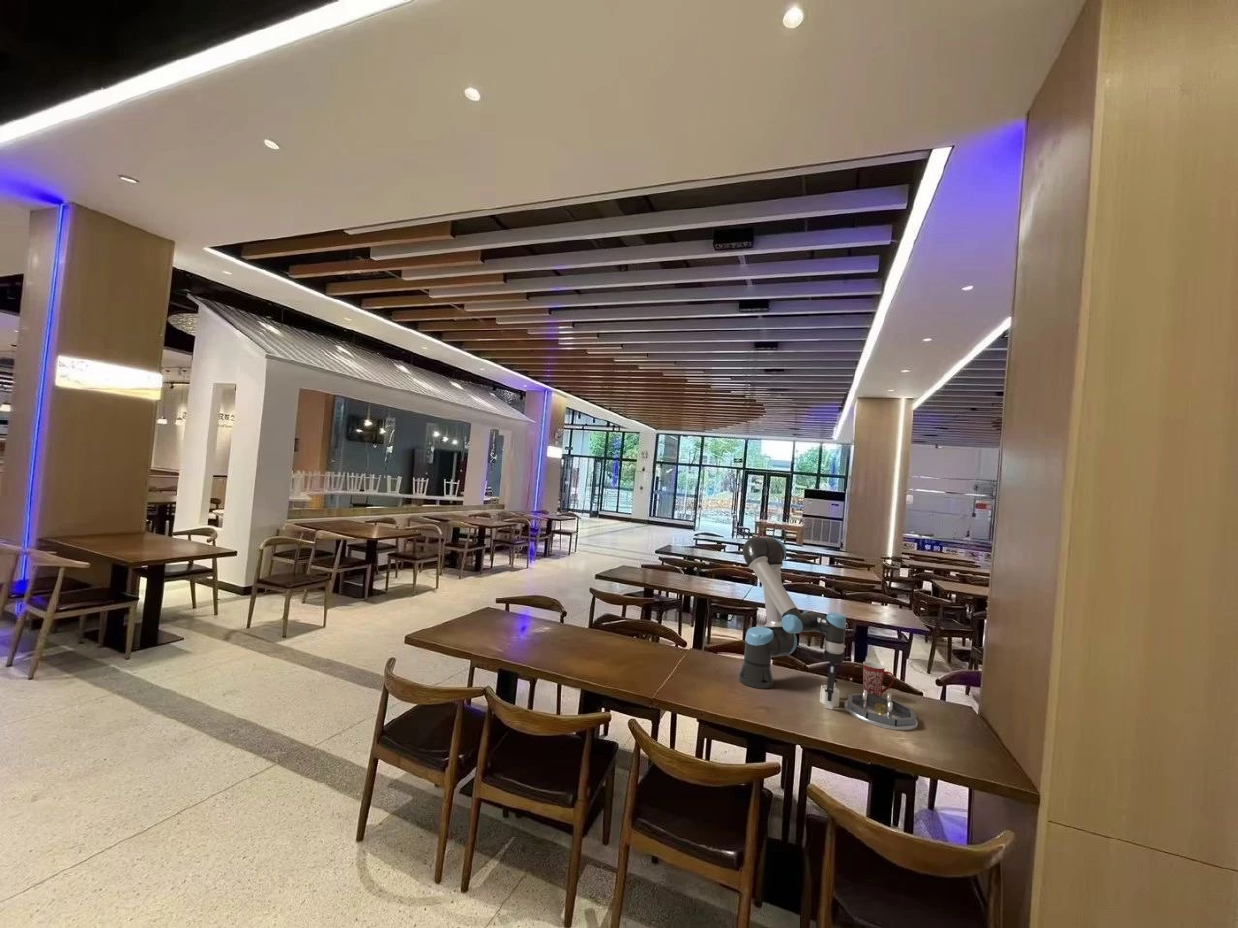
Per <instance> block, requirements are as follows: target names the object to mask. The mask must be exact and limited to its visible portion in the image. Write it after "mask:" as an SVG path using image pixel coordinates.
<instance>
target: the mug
mask: <svg viewBox="0 0 1238 928" xmlns="http://www.w3.org/2000/svg"><path fill="white" fill-rule="evenodd" d="M862 664H863V665H862V666H863V668H862V669H863V670H862V672H863V673H862V692H863V691H864V690H866V691H867V694H868V693H869V694H873V695H877V696H881V697H882V694H883V693H885V692H886V691H887V690H888V689H890V687H892V685H893V684H894V681H895V676H894V674H893V673H892V672H891V671H889V670H888V671H885V669H886V666H885V665H883V664H882V663H878V662H874V661H863V662H862ZM887 675H890V676H891V681H890V683H889V684H888V685H886V687H884V688H883V685H884V684H883V682H884V678H885V677H886V676H887Z"/></svg>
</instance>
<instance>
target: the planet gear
mask: <svg viewBox="0 0 1238 928" xmlns="http://www.w3.org/2000/svg"><path fill="white" fill-rule="evenodd" d="M825 690H827V684H826V685H825V684H823V685H821V686H820V693H819V702H820V703H821V704H823V706H825V703H826V692H825ZM830 690H832V689H830ZM833 691H834V695H833V708H836V707H837V708H838V707H839V706H840V695H841V689H840V688H837V687H836V686H835V687H834V690H833Z"/></svg>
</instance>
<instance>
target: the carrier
mask: <svg viewBox="0 0 1238 928" xmlns="http://www.w3.org/2000/svg"><path fill="white" fill-rule="evenodd" d="M847 696H848V697H847V699H846V700H845V702H844V709H845V711H846V712H847V713H848V714H850V715H851V716H853V717H854V718H856V719H858V720H859V721H862V722H864V723H867V724H869V725H872V726H875V727H879V728H883V729H886V730H893V731H899V732H900V731H901V732H902V731H903V732H907V731H908V732H909V731H913V730H915V729H917V728H918V725H919V723H918V719H917V718H916V713H915V709H913V708H911V707H909V706H907V705H905V704H903V703H901V702H899V701H897V700H896V699H892V693H890V692H887V694H886V697H885V696H882V695H881V696H877V695H873V694H869V693H868V694H867V691H866V690H864V691H863V690H862V692H861V693H849V694H848V695H847Z"/></svg>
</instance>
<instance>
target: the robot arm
mask: <svg viewBox="0 0 1238 928" xmlns="http://www.w3.org/2000/svg"><path fill="white" fill-rule="evenodd" d="M742 555H743V559H744V561H745V563H746V565H747V567H748V569H749V570H752V571H753V573H754V575H756V577H757V579H758V580H759V582H760V583H761V585H762V587H763V588H762V589H763V596H764V605H765V606H764V608H765V615H766V623H765V624H764V625H763V626H753V627H750V628H748V629H747V631H746V636H745V645H744V655H743V656H744V657H743V663H742V665H741V668H740V669H739V672H738V677H737V680H738V681H739V682H740V683H742V684H743V685H746V686H748V687H752V688H756V689H764V690H765V689H770V688H773V687H774V677H773V673H772V669H771V665H772V664H771V663H772V658H776V657H785V656H788V655H791V654H792V653H794V652H795V650H796V649H797V644H798V641H797V640H798V638H797V634H800V633H810V632H817V633H820V634H823V635H824V636H825V638H824V645H823V647H824V648H823V649H824V650H823V660H824V661H826V662H829V663H827V665H826V670H827V684H826V685H827V690H825V692H826V703H825V705H824V707H825V709H828V710H833V708H834V707H833V695H834V691H833V690H834V687H836V683H838V679H837V674H838V669H839V668H838V667H839V665H840V664H842V663H844V652H845V651H844V650H845V648H846V646H847V645H845V638H846V637H845V636H846V628H847V618H846V615H844V614H842V613H836V612H828V613H827V614H826V615H824V614H821V613H818V612H815V611H813V610H811V611H810V610H803V612H800V610H799V609H798V607H797V606H796V603H794V601H793V599H792V598H791V596H790V595H789V593H788V592H787V590H786V588H785V587H784V585H783V584H782V575H781V568H782V567H784V564H783V563H784V560H785V559H786V557H787V548H786V546H785V544H784V542H782V541H781V540H780V539H779V538H774V537H760V536H759V537H758V536H755V537H751V538H749V539H747V540H746V541H745V543H744V545H743V547H742ZM837 664H839V665H837ZM830 689H832V690H830Z"/></svg>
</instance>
